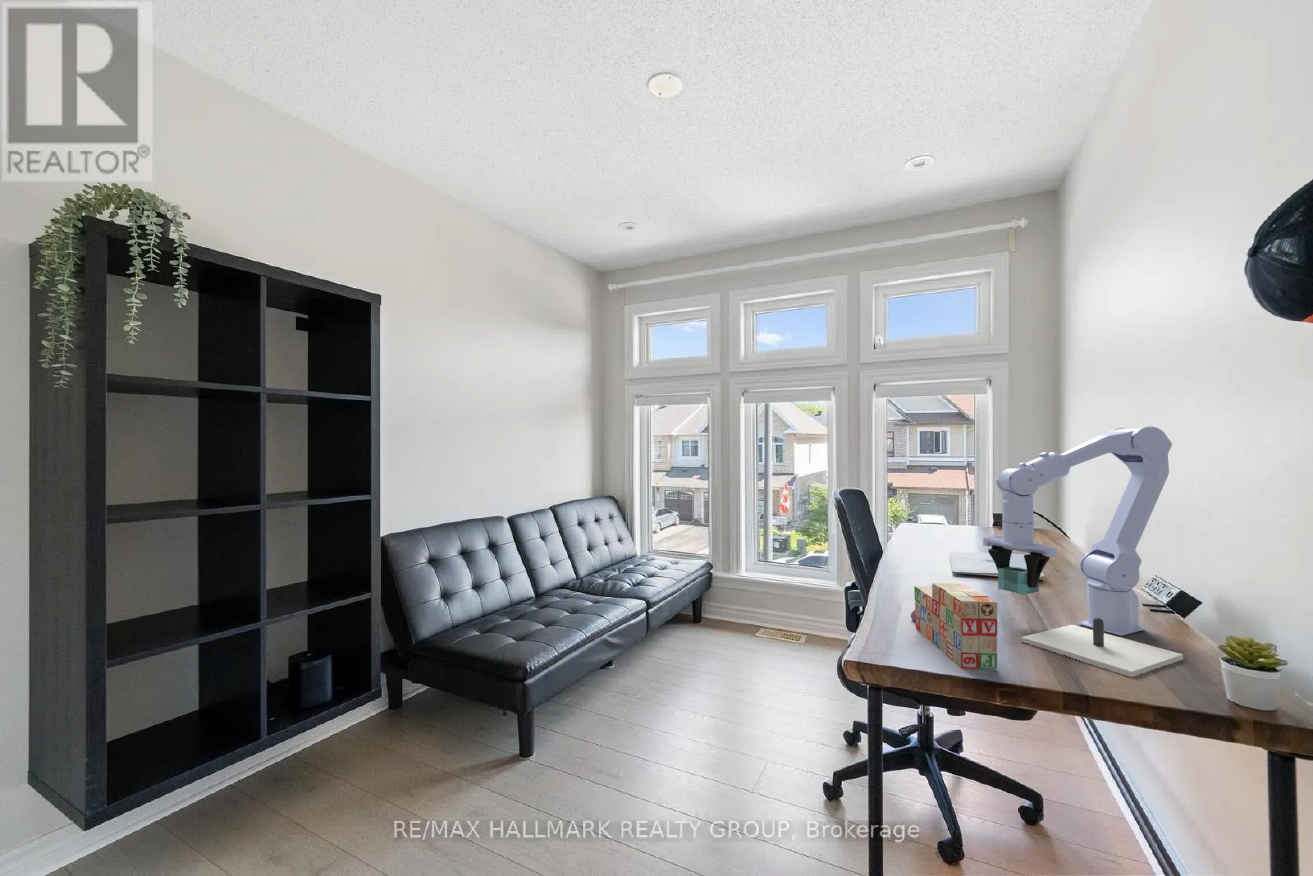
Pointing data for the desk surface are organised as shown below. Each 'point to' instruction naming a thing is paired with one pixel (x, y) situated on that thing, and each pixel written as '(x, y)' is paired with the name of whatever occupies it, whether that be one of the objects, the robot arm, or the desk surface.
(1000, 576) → the teal hollow square tube
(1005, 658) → the desk surface
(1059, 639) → the white square slab
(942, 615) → the stack of blocks
